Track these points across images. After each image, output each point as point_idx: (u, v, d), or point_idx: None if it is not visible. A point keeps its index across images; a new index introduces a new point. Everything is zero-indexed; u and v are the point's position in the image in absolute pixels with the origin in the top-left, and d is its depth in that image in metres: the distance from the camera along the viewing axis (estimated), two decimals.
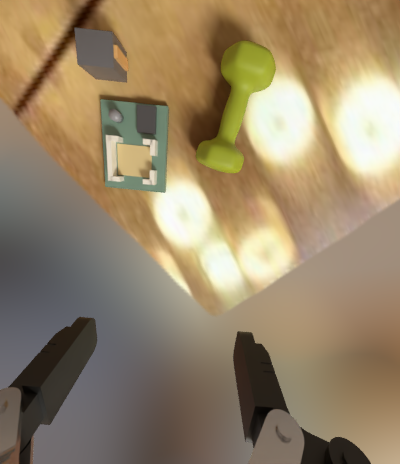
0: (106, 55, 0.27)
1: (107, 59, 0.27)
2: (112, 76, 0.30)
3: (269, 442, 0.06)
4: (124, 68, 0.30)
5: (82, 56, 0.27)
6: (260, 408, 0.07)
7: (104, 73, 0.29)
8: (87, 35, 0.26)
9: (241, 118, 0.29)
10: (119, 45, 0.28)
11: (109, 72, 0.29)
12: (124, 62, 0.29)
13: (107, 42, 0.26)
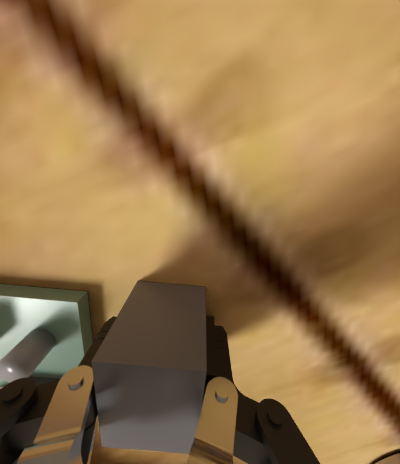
0: (133, 436, 0.08)
1: (122, 437, 0.08)
2: None
3: (211, 408, 0.07)
4: None
5: (119, 379, 0.07)
6: (206, 376, 0.08)
7: None
8: (184, 402, 0.07)
9: None
10: None
11: None
12: None
13: (167, 441, 0.08)
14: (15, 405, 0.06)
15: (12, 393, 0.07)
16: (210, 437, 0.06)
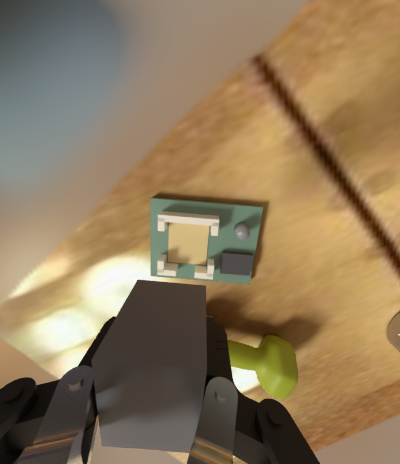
0: (133, 435, 0.08)
1: (122, 436, 0.08)
2: None
3: (210, 408, 0.07)
4: None
5: (119, 377, 0.07)
6: (206, 377, 0.08)
7: None
8: (184, 400, 0.07)
9: (232, 365, 0.28)
10: None
11: None
12: None
13: (167, 440, 0.08)
14: (15, 405, 0.06)
15: (12, 394, 0.07)
16: (210, 437, 0.06)
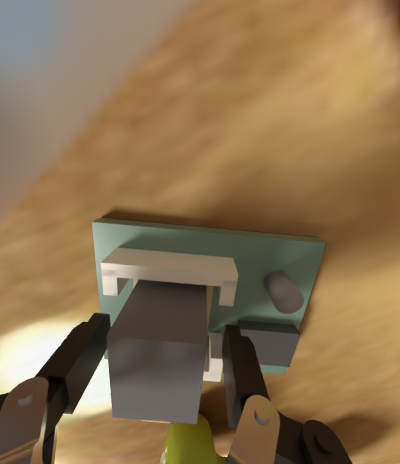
0: (141, 406, 0.09)
1: (131, 407, 0.09)
2: None
3: (248, 427, 0.06)
4: None
5: (130, 352, 0.08)
6: (241, 394, 0.08)
7: None
8: (187, 374, 0.08)
9: None
10: None
11: None
12: None
13: (171, 411, 0.09)
14: None
15: None
16: (246, 457, 0.06)
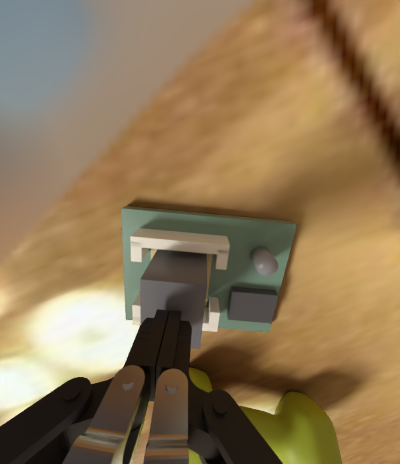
0: None
1: None
2: None
3: (163, 402, 0.07)
4: None
5: (156, 291, 0.12)
6: (162, 369, 0.08)
7: None
8: (193, 308, 0.12)
9: None
10: None
11: None
12: None
13: None
14: (76, 404, 0.07)
15: (71, 393, 0.07)
16: (165, 429, 0.06)
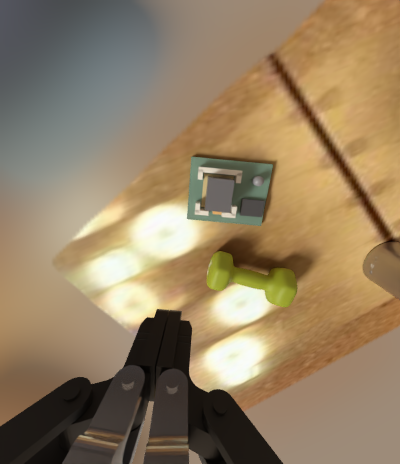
0: (214, 205, 0.31)
1: (211, 205, 0.31)
2: None
3: (162, 402, 0.07)
4: None
5: (214, 183, 0.30)
6: (162, 369, 0.08)
7: (206, 193, 0.32)
8: (228, 191, 0.30)
9: (247, 286, 0.37)
10: None
11: None
12: None
13: (223, 207, 0.31)
14: (76, 404, 0.07)
15: (71, 393, 0.07)
16: (164, 429, 0.06)
